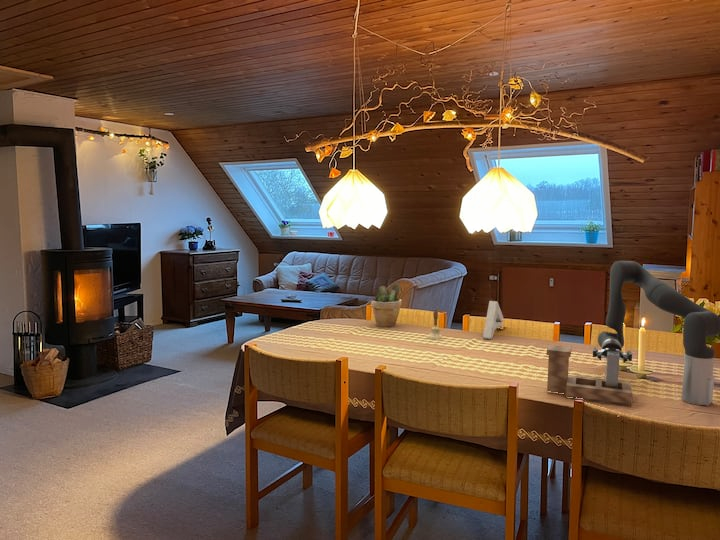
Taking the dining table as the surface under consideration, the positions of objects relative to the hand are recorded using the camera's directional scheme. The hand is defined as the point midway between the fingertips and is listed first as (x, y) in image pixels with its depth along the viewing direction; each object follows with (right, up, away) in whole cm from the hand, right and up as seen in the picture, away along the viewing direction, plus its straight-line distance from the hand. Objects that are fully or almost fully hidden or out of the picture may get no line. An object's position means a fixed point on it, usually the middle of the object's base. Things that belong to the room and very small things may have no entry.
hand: (612, 358), depth 215 cm
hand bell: (-57, -3, +88) cm, 104 cm away
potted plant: (-82, +1, +118) cm, 144 cm away
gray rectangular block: (-4, -12, -8) cm, 15 cm away
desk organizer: (-12, -13, -4) cm, 18 cm away
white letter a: (-21, -2, +99) cm, 102 cm away
